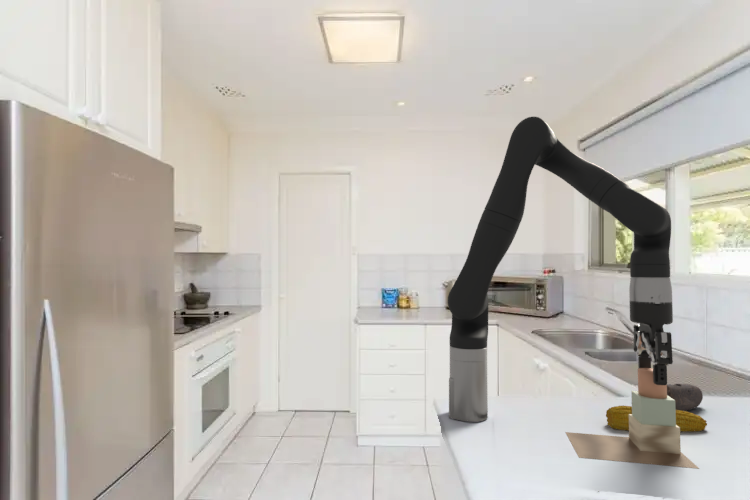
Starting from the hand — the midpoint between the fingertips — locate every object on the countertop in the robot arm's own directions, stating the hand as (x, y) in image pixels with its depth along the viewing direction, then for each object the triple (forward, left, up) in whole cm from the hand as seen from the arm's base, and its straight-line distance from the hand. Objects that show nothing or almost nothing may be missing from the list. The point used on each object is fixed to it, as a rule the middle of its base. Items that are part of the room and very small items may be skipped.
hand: (652, 379), depth 92 cm
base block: (0, 0, -13) cm, 13 cm away
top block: (0, 0, -8) cm, 8 cm away
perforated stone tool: (+18, +33, -14) cm, 40 cm away
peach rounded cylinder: (0, 0, -3) cm, 3 cm away
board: (-6, -3, -14) cm, 16 cm away
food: (+4, +12, -15) cm, 20 cm away
